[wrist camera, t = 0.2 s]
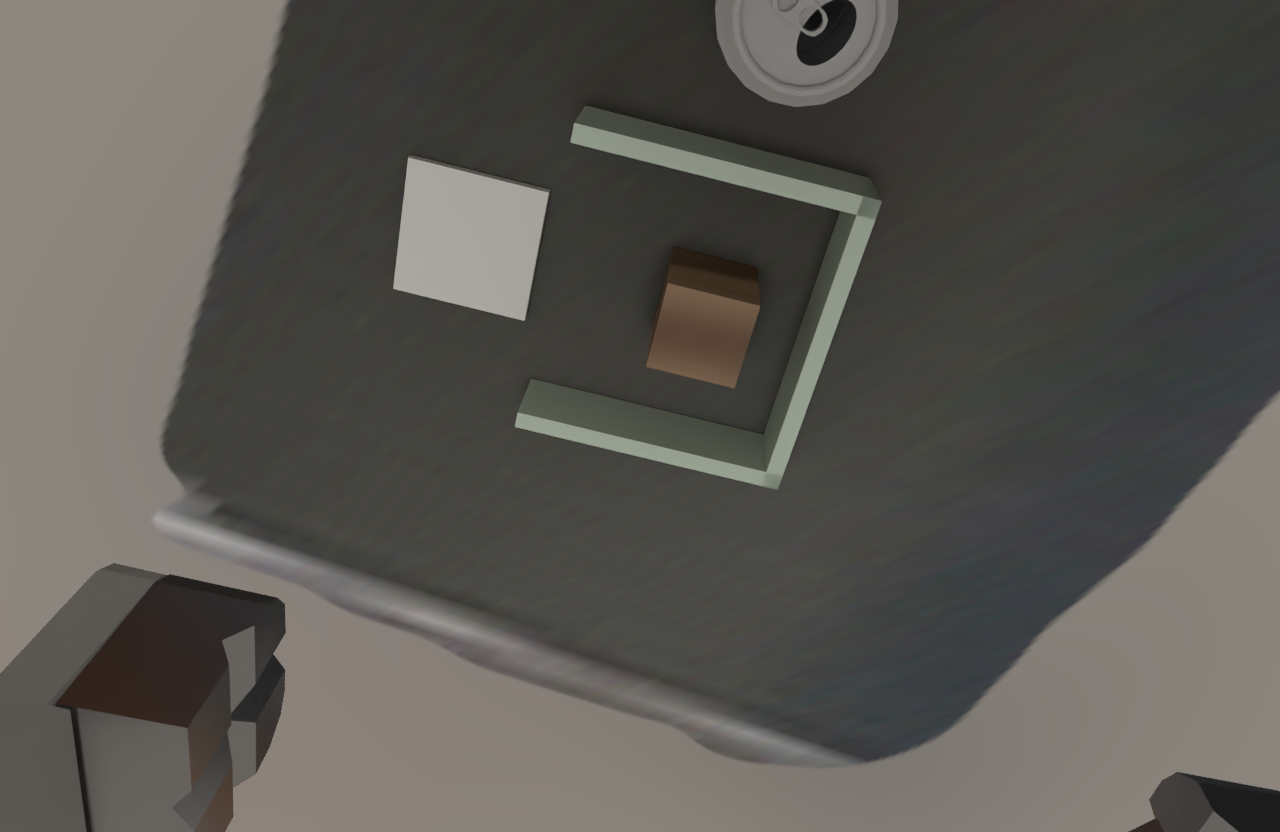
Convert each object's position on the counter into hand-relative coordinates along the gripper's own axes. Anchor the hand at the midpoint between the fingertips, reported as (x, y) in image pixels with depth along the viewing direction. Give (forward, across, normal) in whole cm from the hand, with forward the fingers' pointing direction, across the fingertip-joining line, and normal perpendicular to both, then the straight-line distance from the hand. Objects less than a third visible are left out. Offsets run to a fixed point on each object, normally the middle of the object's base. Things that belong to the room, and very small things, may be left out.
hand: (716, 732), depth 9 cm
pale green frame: (+47, -1, +14) cm, 49 cm away
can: (+47, -3, -3) cm, 48 cm away
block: (+47, -2, +14) cm, 49 cm away
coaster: (+47, +12, +13) cm, 50 cm away
